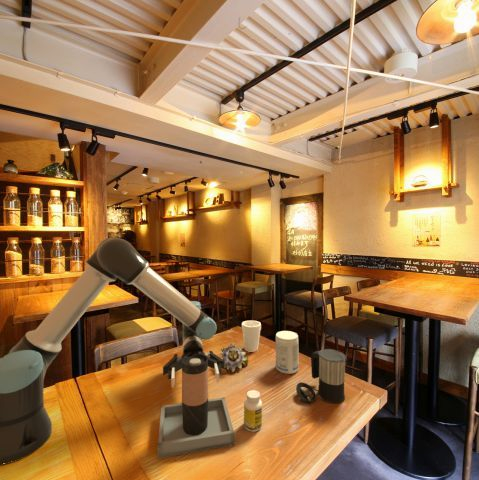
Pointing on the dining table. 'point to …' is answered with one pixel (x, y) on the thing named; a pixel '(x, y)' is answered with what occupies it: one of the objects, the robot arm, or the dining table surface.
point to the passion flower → (234, 357)
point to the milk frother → (326, 377)
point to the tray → (182, 443)
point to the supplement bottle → (253, 411)
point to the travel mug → (195, 394)
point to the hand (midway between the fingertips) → (195, 380)
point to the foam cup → (251, 334)
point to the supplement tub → (287, 352)
